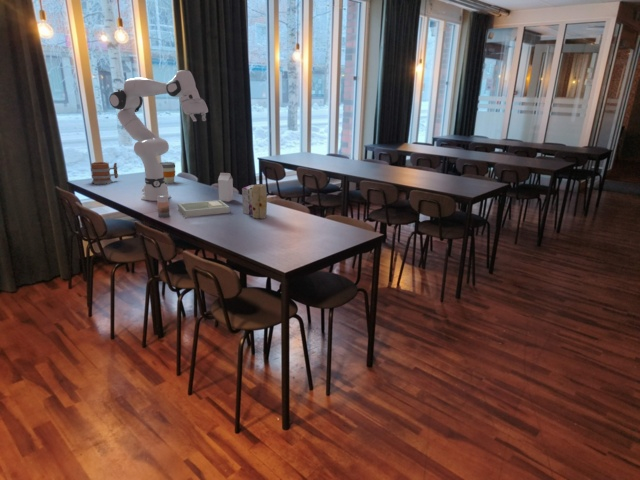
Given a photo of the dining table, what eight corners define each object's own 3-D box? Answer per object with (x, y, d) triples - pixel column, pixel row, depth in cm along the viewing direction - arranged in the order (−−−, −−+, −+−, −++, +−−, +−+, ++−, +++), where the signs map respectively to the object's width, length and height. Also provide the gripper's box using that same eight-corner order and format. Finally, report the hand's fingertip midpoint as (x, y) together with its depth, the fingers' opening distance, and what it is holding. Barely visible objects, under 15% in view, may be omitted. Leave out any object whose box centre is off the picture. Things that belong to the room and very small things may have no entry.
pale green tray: (178, 211, 256) (177, 203, 254) (220, 207, 268) (220, 200, 267) (185, 218, 241) (185, 211, 240) (229, 214, 254) (229, 206, 252)
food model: (262, 215, 253) (262, 182, 247) (269, 218, 249) (269, 184, 242) (249, 218, 247) (248, 184, 240) (256, 220, 242) (255, 186, 236)
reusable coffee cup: (161, 180, 339) (160, 162, 334) (178, 181, 340) (176, 162, 336) (157, 183, 327) (156, 164, 322) (174, 184, 329) (173, 164, 324)
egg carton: (208, 208, 260) (207, 201, 259) (217, 207, 263) (217, 201, 262) (212, 212, 252) (212, 205, 251) (222, 211, 255) (222, 204, 254)
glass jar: (157, 215, 245) (155, 195, 241) (168, 214, 247) (166, 194, 244) (159, 218, 240) (157, 197, 236) (170, 217, 243) (169, 196, 239)
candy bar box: (251, 210, 263) (250, 184, 258) (258, 211, 261) (258, 185, 256) (242, 214, 253) (241, 187, 248) (249, 216, 251) (249, 188, 246)
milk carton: (229, 203, 279) (228, 174, 273) (218, 202, 280) (217, 173, 274) (233, 200, 285) (232, 172, 279) (223, 199, 287) (222, 171, 281)
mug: (89, 182, 324) (86, 162, 319) (115, 179, 337) (113, 160, 332) (95, 185, 315) (93, 165, 310) (122, 182, 328) (120, 162, 323)
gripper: (198, 99, 262) (205, 121, 265) (177, 99, 244) (185, 123, 247) (206, 96, 260) (213, 118, 263) (185, 95, 241) (193, 120, 244)
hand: (199, 121), depth 255 cm, fingers open, 8 cm apart
